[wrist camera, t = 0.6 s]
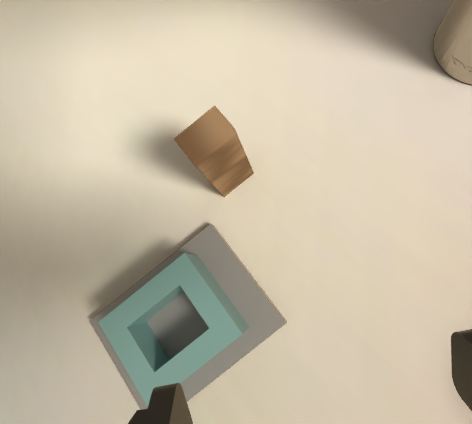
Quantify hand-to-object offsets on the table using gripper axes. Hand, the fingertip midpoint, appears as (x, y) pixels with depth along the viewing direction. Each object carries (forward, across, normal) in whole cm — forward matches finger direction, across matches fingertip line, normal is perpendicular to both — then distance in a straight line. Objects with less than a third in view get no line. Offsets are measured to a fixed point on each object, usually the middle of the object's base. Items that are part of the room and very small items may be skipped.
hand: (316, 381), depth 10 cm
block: (+27, +2, -2) cm, 27 cm away
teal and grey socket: (+21, +9, +11) cm, 26 cm away
